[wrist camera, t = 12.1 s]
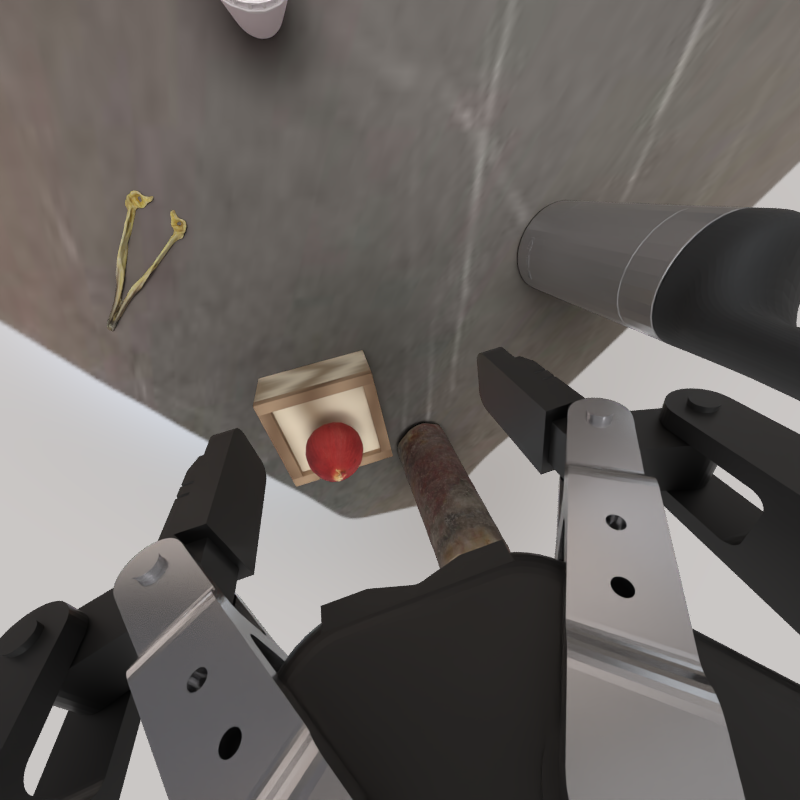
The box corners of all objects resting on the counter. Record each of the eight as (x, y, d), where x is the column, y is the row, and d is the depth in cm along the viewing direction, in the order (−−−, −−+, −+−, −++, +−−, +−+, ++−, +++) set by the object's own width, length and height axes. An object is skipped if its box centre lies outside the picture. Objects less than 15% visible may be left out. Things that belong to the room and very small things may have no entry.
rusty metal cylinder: (419, 466, 50) (476, 598, 34) (384, 449, 47) (430, 587, 30) (453, 433, 48) (530, 555, 32) (419, 411, 45) (488, 538, 28)
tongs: (97, 323, 30) (86, 330, 28) (136, 184, 26) (126, 183, 24) (150, 343, 32) (143, 350, 30) (194, 217, 28) (188, 218, 27)
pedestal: (362, 350, 38) (371, 373, 33) (382, 427, 44) (392, 456, 40) (258, 378, 36) (252, 406, 31) (296, 454, 43) (296, 486, 38)
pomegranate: (354, 448, 39) (365, 501, 32) (303, 449, 37) (305, 505, 30) (360, 408, 36) (374, 456, 29) (306, 406, 34) (308, 458, 27)
